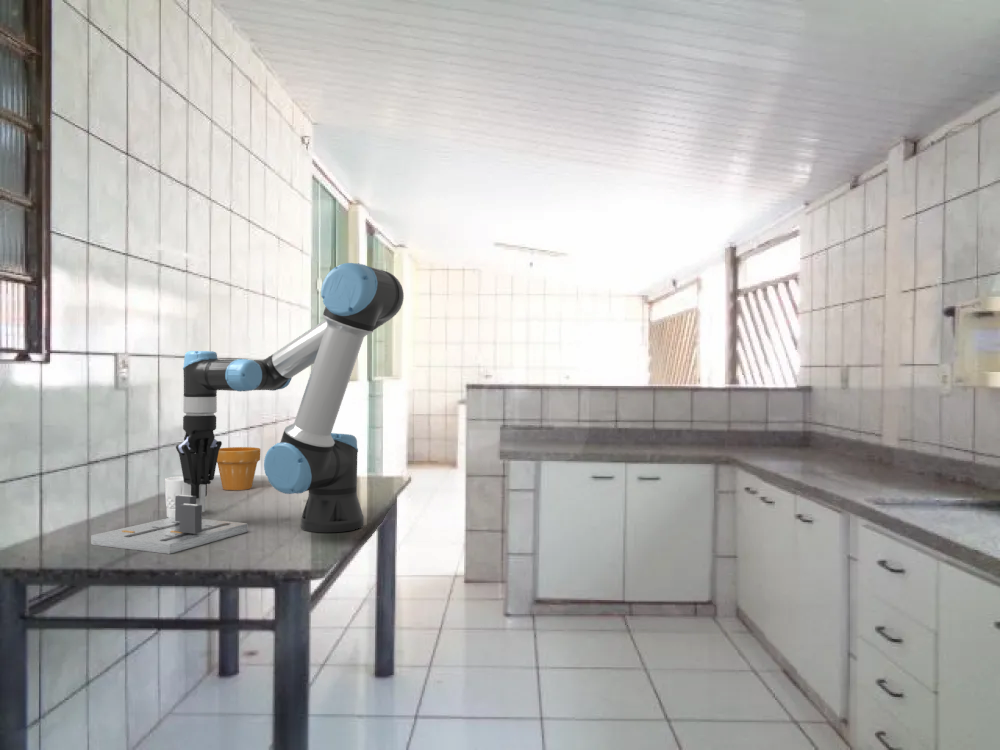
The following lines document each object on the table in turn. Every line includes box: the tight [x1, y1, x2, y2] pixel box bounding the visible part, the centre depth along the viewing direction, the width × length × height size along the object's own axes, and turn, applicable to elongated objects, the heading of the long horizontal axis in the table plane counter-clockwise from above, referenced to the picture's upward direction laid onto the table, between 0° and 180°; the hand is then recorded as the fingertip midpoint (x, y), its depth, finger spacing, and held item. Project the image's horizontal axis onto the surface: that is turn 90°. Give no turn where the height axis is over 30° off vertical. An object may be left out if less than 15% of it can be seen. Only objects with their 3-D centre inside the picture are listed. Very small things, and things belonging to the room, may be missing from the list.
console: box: [90, 517, 249, 555], centre depth 169 cm, size 22×24×2 cm
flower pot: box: [217, 446, 262, 491], centre depth 243 cm, size 14×14×13 cm
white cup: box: [164, 475, 191, 518], centre depth 195 cm, size 8×8×10 cm
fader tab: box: [175, 495, 196, 522], centre depth 177 cm, size 4×2×6 cm, turn 69°
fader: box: [179, 504, 203, 534], centre depth 165 cm, size 4×2×6 cm, turn 69°
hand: (198, 511), depth 181 cm, fingers closed
